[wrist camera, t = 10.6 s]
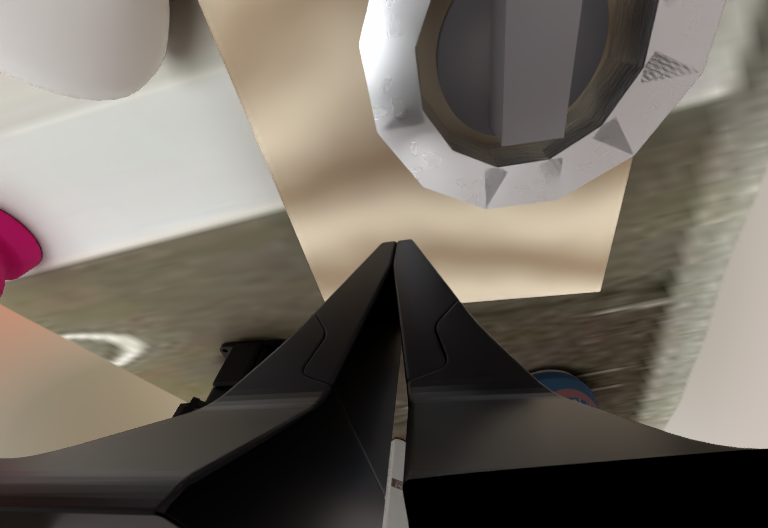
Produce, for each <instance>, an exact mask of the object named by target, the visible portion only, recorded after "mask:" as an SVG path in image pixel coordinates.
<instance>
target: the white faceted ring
mask: <svg viewBox="0 0 768 528" xmlns="http://www.w3.org/2000/svg"><path fill="white" fill-rule="evenodd" d="M430 1H431V0H369V4H368V8H367V13H366V17H365V21H364V25H363V29H362V33H361V38H360V42H359V47H360V52H361V57H362V62H363V67H364V71H365V76H366V81H367V86H368V91H369V95H370V100H371V105H372V110H373V115H374V120H375V124H376V129H377V133H378V134H379V135H380V137H381V138H382V139H383V140H384V141H385V142H386V144H387V145H388V146H389V147H390V148H391V150H392V151H393V152H394V153H395V154H396V155H397V157H398V158H399V159H400V160H401V161H402V163H403V164H404V165H405V166H406V167H407V168H408V170H409V171H410V172H411V173H412V174H413V176H414V177H415V178H416V179H417V180H418V181H419V183H420V184H421V185H422V186H423V187H424V188H427V189H430V190H433V191H436V192H438V193H441V194H444V195H447V196H450V197H452V198H455V199H458V200H461V201H464V202H467V203H469V204H472V205H475V206H478V207H481V208H483V209H492V208H500V207H507V206H515V205H522V204H530V203H538V202H545V201H553V200H559V199H560V198H562V197H564V196H565V195H567V194H569V193H571V192H572V191H574V190H576V189H577V188H579V187H581V186H583V185H584V184H586V183H588V182H589V181H591V180H593V179H595V178H596V177H598V176H600V175H601V174H603V173H605V172H607V171H608V170H610V169H612V168H614V167H615V166H617V165H619V164H620V163H622V162H624V161H626V160H627V159H629V158H631V157H632V156H634V155H635V154H636V153H637V151H638V150H639V149H640V148H641V147H642V145H643V144H644V143H645V142H646V140H647V139H648V138H649V137H650V136H651V134H652V133H653V132H654V131H655V130H656V128H657V127H658V126H659V125H660V124H661V122H662V121H663V120H664V119H665V117H666V116H667V115H668V114H669V113H670V111H671V110H672V109H673V108H674V107H675V105H676V104H677V103H678V102H679V100H680V99H681V98H682V97H683V96H684V94H685V93H686V92H687V91H688V90H689V88H690V87H691V86H692V85H693V84H694V82H695V81H696V80H697V79H698V77H699V76H700V75H701V74H702V73H703V70H704V67H705V64H706V61H707V58H708V55H709V52H710V49H711V45H712V42H713V39H714V36H715V33H716V30H717V27H718V24H719V20H720V17H721V14H722V11H723V8H724V5H725V2H726V0H617V2H616V8H615V14H614V20H613V26H612V32H611V38H610V44H609V50H608V56H607V59H606V60H605V62H604V63H603V65H602V66H601V68H600V69H599V71H598V72H597V74H596V76H595V77H594V79H593V80H592V82H591V83H590V85H589V86H588V88H587V89H586V91H585V92H584V94H583V96H582V97H581V99H580V100H579V102H578V103H577V105H576V106H575V108H574V109H572V110H571V111H569V112H568V113H567V118H566V125H565V133H564V138H558V139H551V140H544V141H537V142H531V143H524V144H517V145H510V146H503V147H502V146H501V144H500V143H498V144H492V145H485V144H482V143H480V142H477V141H474V140H472V139H469V138H466V137H464V136H461V135H459V134H456V133H453V132H451V131H448V129H447V128H446V127H445V125H444V124H443V123H442V121H441V120H440V119H439V117H438V116H437V114H436V113H435V112H434V110H433V109H432V108H431V106H430V105H429V104H428V102H427V101H426V99H425V98H424V97H423V95H422V89H421V81H420V73H419V65H418V57H417V49H416V43H417V40H418V37H419V34H420V31H421V28H422V25H423V22H424V19H425V16H426V13H427V10H428V7H429V4H430Z"/></svg>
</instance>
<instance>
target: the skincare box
mask: <svg viewBox="0 0 768 528" xmlns="http://www.w3.org/2000/svg"><path fill="white" fill-rule="evenodd" d="M405 447H406V442H405V441H402V440H400V439H394V440H393V441H391V450H390V459H389V468H388V478H387V487H386V496H385V497H384V498H385V507H384V517H383V526H382V528H409V526H408V520H407V514H406V508H405V503H404V497H403V475H404V461H405Z"/></svg>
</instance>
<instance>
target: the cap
mask: <svg viewBox="0 0 768 528" xmlns="http://www.w3.org/2000/svg"><path fill="white" fill-rule="evenodd" d="M608 27H609V9H608V1H607V0H453V1H452V2H451V4H450V6H449V7H448V10H447V12H446V14H445V16H444V19H443V22H442V25H441V28H440V31H439V36H438V41H437V49H436V67H437V74H438V78H439V82H440V86H441V90H442V93H443V95H444V97H445V100H446V102H447V104H448V105H449V107H450V109H451V110H452V111H453V113H454V114H455V115H456V117H457V118H459V119H460V120H461V121H462V122H463V123H464V124H465V125H467V126H468V127H470V128H471V129H473V130H475V131H477V132H480V133H483V134H486V135H491V136H496V138H497V139H498V141H499V143H500V144H501V146H502V147H503V146H510V145H517V144H524V143H531V142H537V141H544V140H551V139H558V138H564V133H565V125H566V118H567V110H568V108H569V107H570V106H571V105H572V104H573V103H574V102H575V101H576V100H577V99H578V98H579V96H580V95H581V94H582V92H583V91H584V90H585V88H586V87H587V86H588V84H589V82H590V81H591V79H592V77H593V76H594V74H595V72H596V70H597V68H598V65H599V63H600V61H601V58H602V55H603V52H604V49H605V45H606V40H607V35H608Z"/></svg>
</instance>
